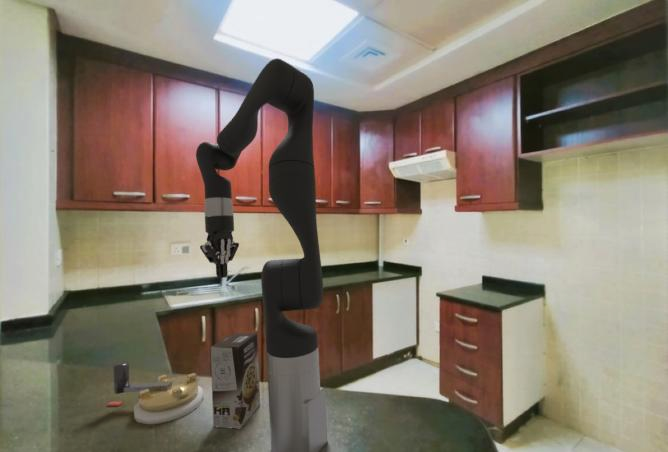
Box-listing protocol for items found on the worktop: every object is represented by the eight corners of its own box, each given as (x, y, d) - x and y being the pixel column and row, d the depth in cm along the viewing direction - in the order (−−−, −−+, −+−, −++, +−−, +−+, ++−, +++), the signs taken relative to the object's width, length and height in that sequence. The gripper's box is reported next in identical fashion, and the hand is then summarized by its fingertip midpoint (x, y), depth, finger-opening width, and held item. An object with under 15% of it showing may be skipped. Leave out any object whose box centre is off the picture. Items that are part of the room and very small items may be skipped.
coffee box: (241, 430, 61) (238, 347, 61) (212, 427, 62) (208, 346, 62) (261, 404, 70) (258, 332, 70) (235, 402, 71) (232, 332, 71)
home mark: (123, 403, 73) (122, 401, 73) (118, 406, 72) (118, 404, 72) (111, 403, 74) (111, 401, 74) (107, 406, 73) (107, 404, 73)
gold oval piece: (206, 382, 77) (205, 350, 77) (183, 410, 65) (181, 371, 65) (133, 386, 77) (131, 354, 78) (95, 414, 65) (94, 376, 66)
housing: (216, 396, 74) (215, 389, 74) (160, 430, 62) (160, 423, 62) (177, 386, 81) (177, 380, 81) (120, 415, 68) (120, 408, 68)
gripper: (225, 216, 94) (228, 274, 93) (190, 215, 82) (192, 281, 81) (245, 215, 91) (248, 274, 90) (211, 213, 79) (214, 281, 78)
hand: (222, 277), depth 86 cm, fingers closed
